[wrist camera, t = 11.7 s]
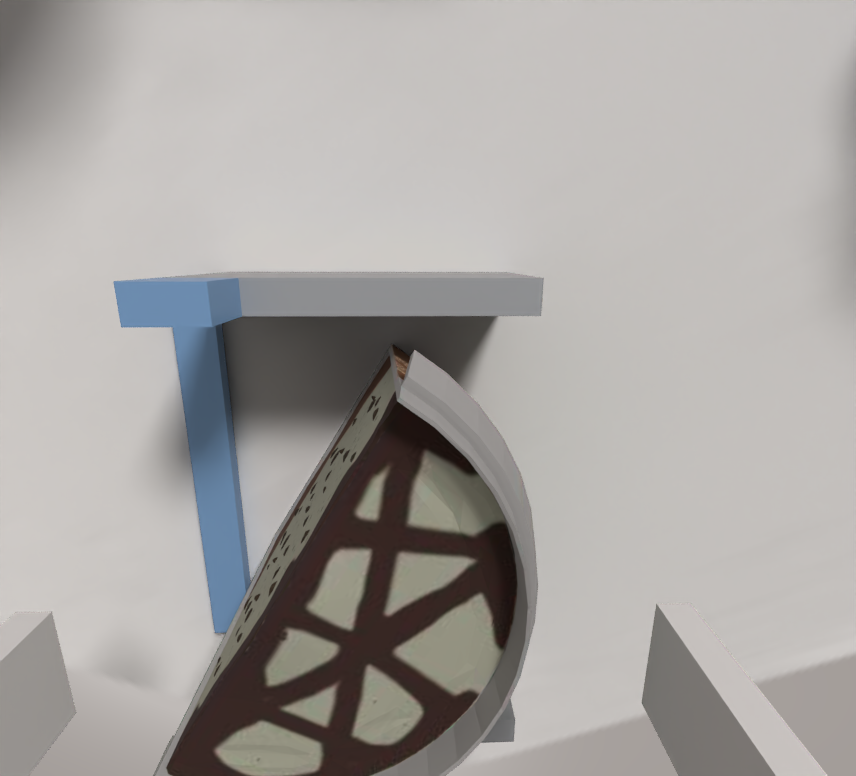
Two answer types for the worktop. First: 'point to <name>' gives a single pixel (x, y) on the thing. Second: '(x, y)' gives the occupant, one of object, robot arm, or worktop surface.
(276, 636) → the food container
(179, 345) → the blue-edged channel bracket
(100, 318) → the worktop surface
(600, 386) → the worktop surface
